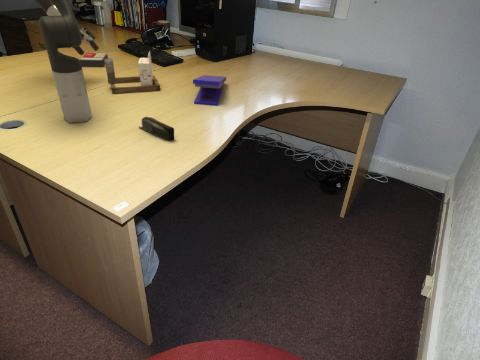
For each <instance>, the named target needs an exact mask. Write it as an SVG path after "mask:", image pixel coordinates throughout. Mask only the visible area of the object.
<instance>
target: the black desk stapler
mask: <svg viewBox="0 0 480 360" xmlns="http://www.w3.org/2000/svg"><path fill="white" fill-rule="evenodd" d="M138 129H140V130H143V131H146V132H148V133H149V134H152V135H154V136H156V137H158V138H160V139H162V140H164V141H167V142H169V141H170V142H171V141H174V140H175V128H174V127H172V126H170V125H167V124H166V123H164V122H161V121H159V120H158V119H156V118H154V117H150V116H144V117H142V119H141V126H138Z"/></svg>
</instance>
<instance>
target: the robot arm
mask: <svg viewBox="0 0 480 360" xmlns="http://www.w3.org/2000/svg"><path fill="white" fill-rule="evenodd" d="M32 1H33V2H35V4H37V5H39V7H40V8H41V9H42V10H43V11H44V12H45V14H46V15H45V16H44V15H43V16H41V17H40V18H39V21H38V24H39V30H40V34H41V37H42V39H43V42H44V45H45V49H46V52H47V53H46V54H47V56H48V59H49V65H50V68H51V72H52V76H53V80H54V83H55V89H56V91H57V96H58V100H59V103H60V107H61V112H62V115H63V118H64V120H65V121H66V122H68V123H69V124H72V123H80V122H81V123H82V122H83V123H84V122H88V121H89V120H90V119H92V117H93V113H92V108H91V103H90V99H89V98H90V97H89V95H88V89H87V85H86V80H85V74H84V71H83V70H84V69H83V67H82V64H81V61H80V58H78V57H75V56H71V55H67V54H65V53H63V52H60V51H59V49H70V48H72V49H74V50H75V51H76V52H77V54H79V55H80V56H84V55H85V51H84V50H83V48H82V47H81V45H82V42H84V43H88V44H89V45H90V47H91V48H92V49H93V50H94V52H97V51H99V46H98V44H97V43H96V42H95V39H96V37H95V35H94V34H93V33H92V32H91V31H90V29H88V28H87V27H86V26H83V28H81V27H80V26H79V23H78V22H77V19H76V16H75V14H74V12H73V9H72V7H71V4H70V1H69V0H32Z"/></svg>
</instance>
